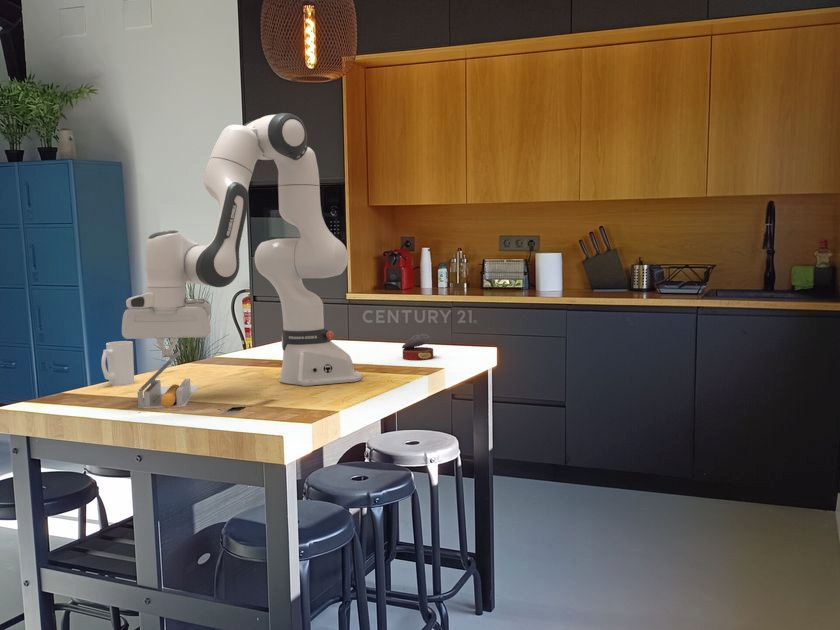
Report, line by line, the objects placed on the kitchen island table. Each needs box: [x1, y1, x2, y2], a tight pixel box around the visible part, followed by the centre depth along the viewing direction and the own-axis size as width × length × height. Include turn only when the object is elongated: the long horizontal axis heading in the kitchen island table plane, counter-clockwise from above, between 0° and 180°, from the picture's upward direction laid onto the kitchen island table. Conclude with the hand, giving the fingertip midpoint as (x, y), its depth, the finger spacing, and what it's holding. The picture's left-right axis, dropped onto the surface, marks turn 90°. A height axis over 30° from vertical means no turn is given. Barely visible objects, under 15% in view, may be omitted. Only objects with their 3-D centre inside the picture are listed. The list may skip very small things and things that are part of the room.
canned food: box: [401, 333, 434, 362], centre depth 254 cm, size 11×10×10 cm
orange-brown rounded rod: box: [161, 384, 180, 408], centre depth 190 cm, size 3×12×3 cm
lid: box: [138, 350, 181, 392], centre depth 191 cm, size 10×15×1 cm
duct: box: [136, 378, 199, 414], centre depth 196 cm, size 10×26×5 cm, turn 9°
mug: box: [100, 340, 135, 387], centre depth 213 cm, size 10×7×12 cm, turn 157°
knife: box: [219, 405, 253, 416], centre depth 185 cm, size 22×1×5 cm
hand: (167, 356), depth 191 cm, fingers closed
